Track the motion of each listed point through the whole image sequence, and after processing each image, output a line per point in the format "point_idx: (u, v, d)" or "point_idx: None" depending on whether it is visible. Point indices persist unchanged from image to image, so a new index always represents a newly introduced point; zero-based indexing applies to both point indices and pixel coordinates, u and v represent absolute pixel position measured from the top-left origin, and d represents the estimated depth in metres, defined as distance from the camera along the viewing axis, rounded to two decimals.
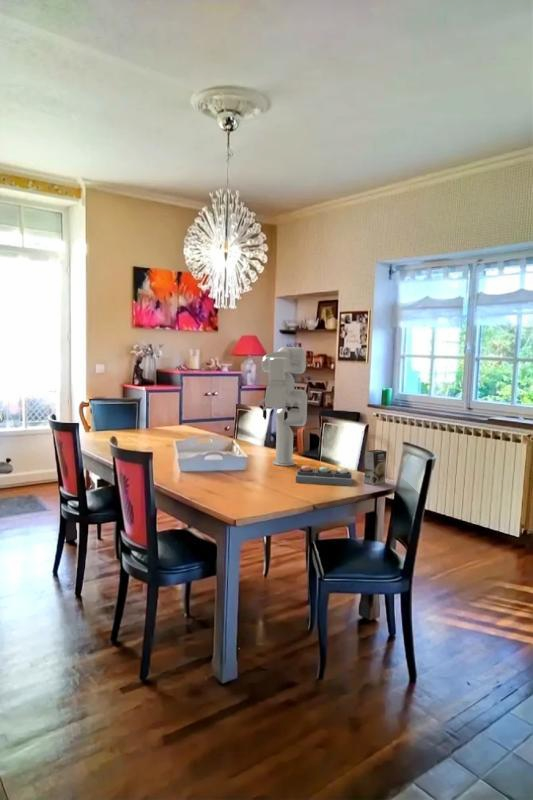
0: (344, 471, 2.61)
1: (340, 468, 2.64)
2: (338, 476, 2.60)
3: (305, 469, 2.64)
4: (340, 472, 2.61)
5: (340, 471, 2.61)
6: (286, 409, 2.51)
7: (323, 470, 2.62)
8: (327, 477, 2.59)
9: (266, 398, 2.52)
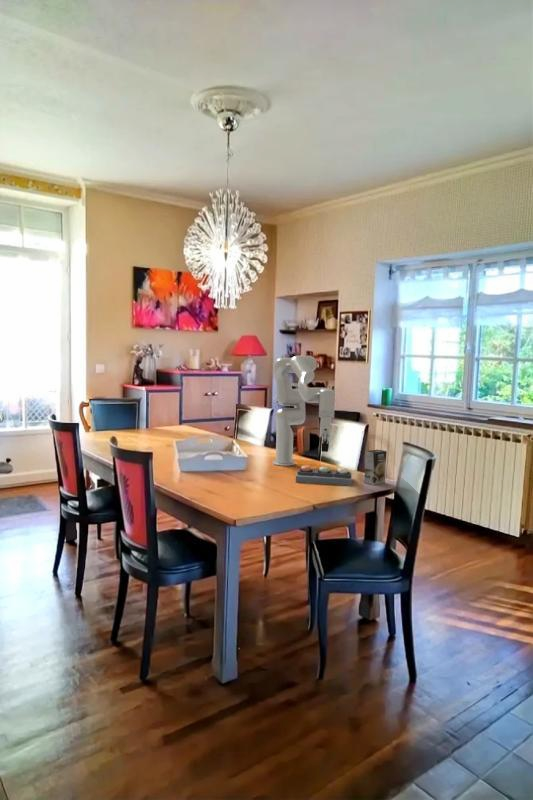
0: (344, 471, 2.61)
1: (340, 468, 2.64)
2: (338, 476, 2.60)
3: (305, 469, 2.64)
4: (340, 472, 2.61)
5: (340, 471, 2.61)
6: (328, 438, 2.67)
7: (323, 470, 2.62)
8: (327, 477, 2.59)
9: (329, 429, 2.58)
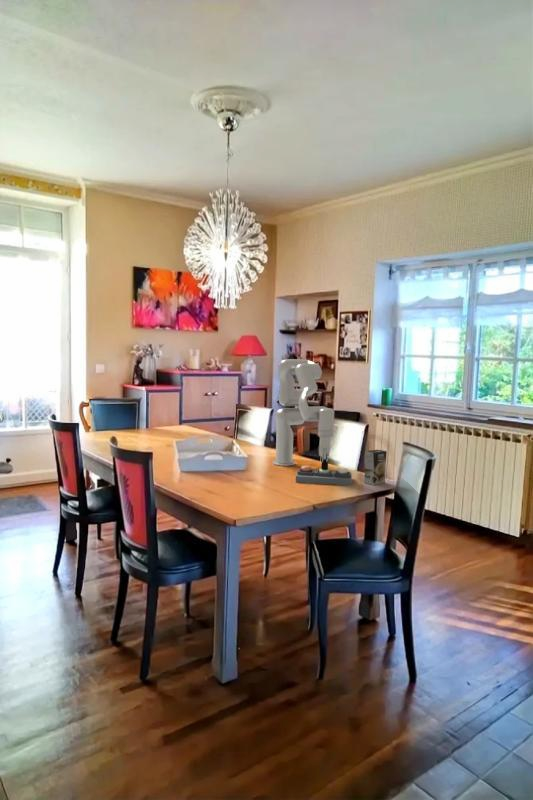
0: (344, 471, 2.61)
1: (340, 468, 2.64)
2: (338, 476, 2.60)
3: (305, 469, 2.64)
4: (340, 472, 2.61)
5: (340, 471, 2.61)
6: None
7: (323, 472, 2.63)
8: (327, 477, 2.59)
9: (329, 448, 2.59)
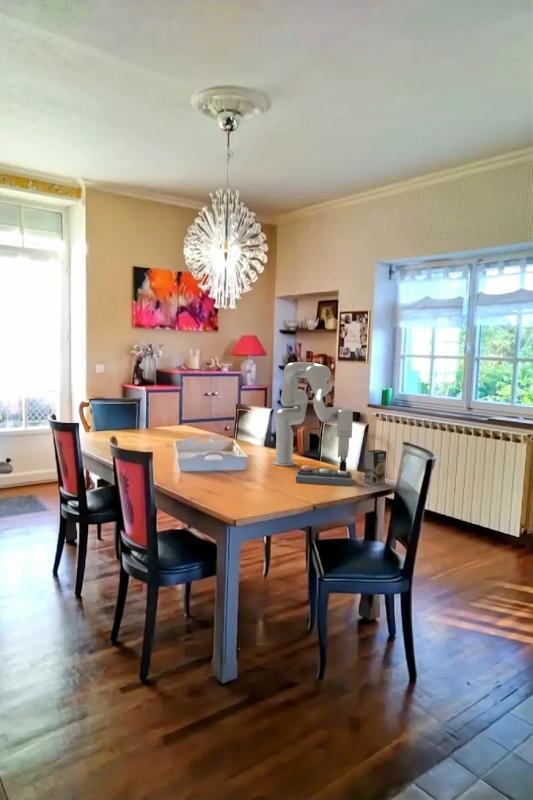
0: (344, 473, 2.61)
1: None
2: (338, 476, 2.60)
3: (305, 469, 2.64)
4: None
5: (340, 473, 2.62)
6: None
7: (323, 472, 2.63)
8: (327, 477, 2.59)
9: (348, 449, 2.58)
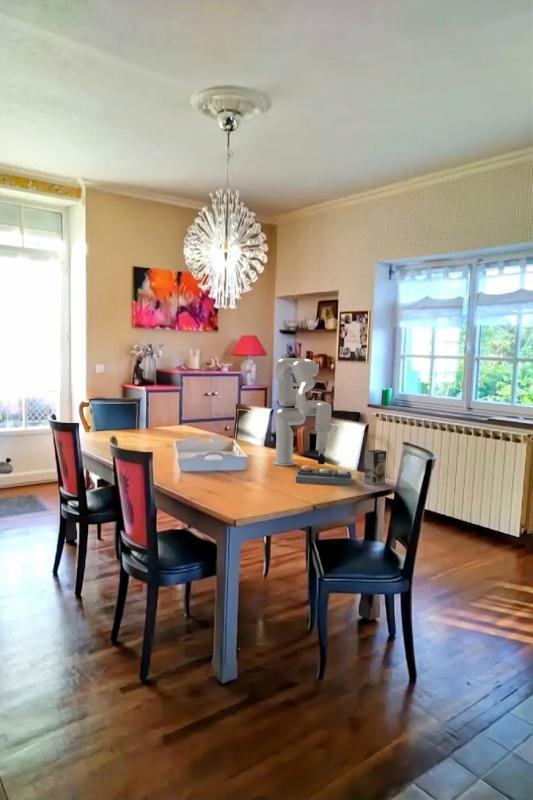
0: (344, 473, 2.61)
1: (340, 470, 2.64)
2: (338, 476, 2.60)
3: (305, 469, 2.64)
4: None
5: (340, 473, 2.62)
6: None
7: (323, 472, 2.63)
8: (327, 477, 2.59)
9: (326, 443, 2.59)
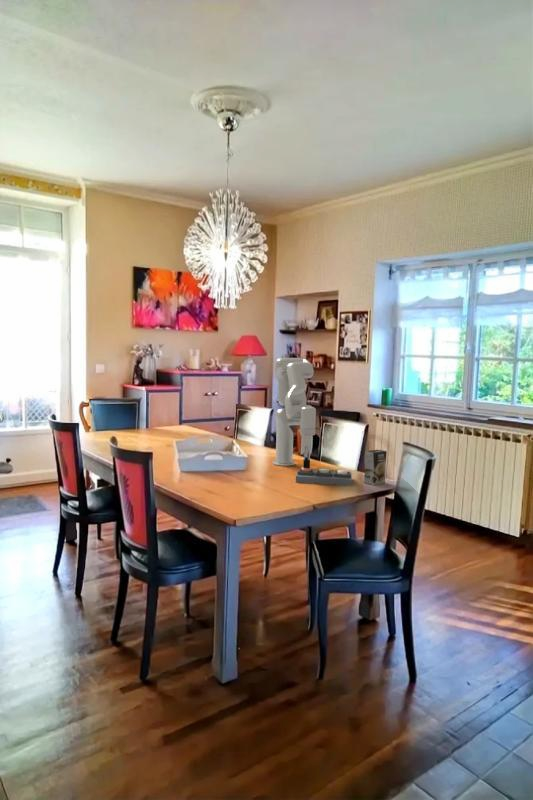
0: (344, 473, 2.61)
1: (340, 470, 2.64)
2: (338, 476, 2.60)
3: (305, 470, 2.64)
4: None
5: (340, 473, 2.62)
6: (309, 457, 2.66)
7: (323, 472, 2.63)
8: (327, 477, 2.59)
9: (310, 447, 2.60)
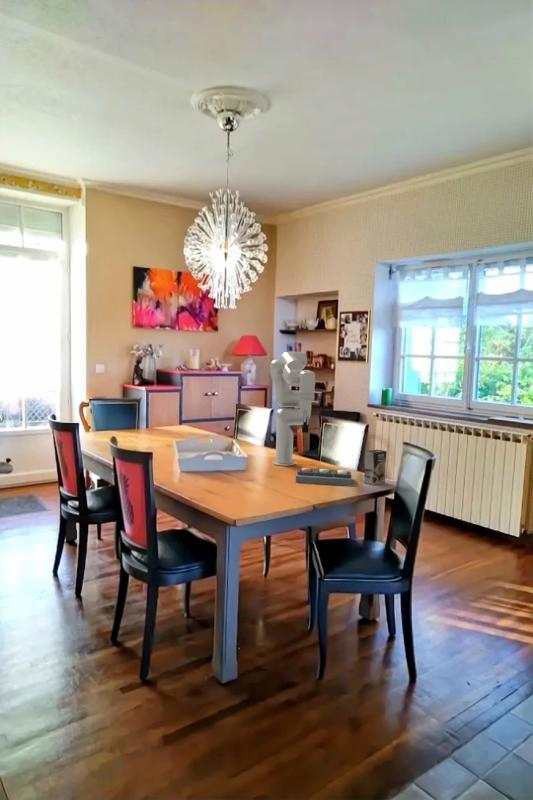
0: (344, 473, 2.61)
1: (340, 470, 2.64)
2: (338, 476, 2.60)
3: (305, 471, 2.64)
4: None
5: (340, 473, 2.62)
6: None
7: (323, 472, 2.63)
8: (327, 477, 2.59)
9: (309, 411, 2.61)
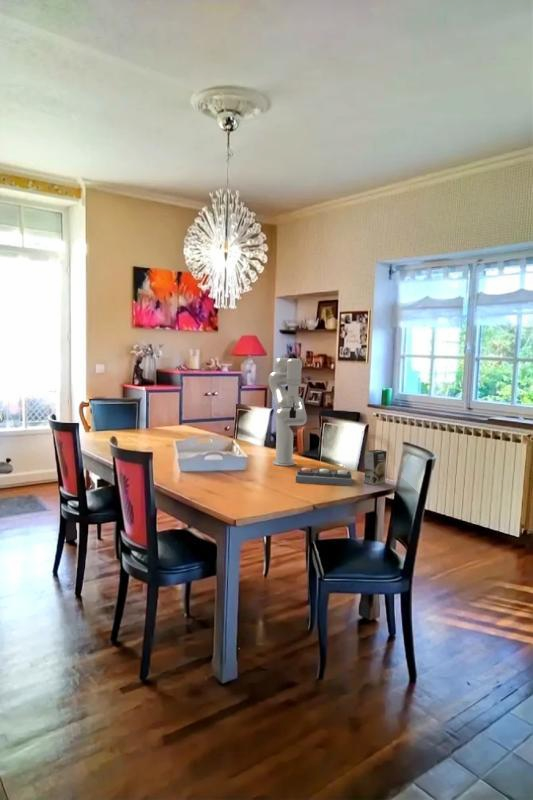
0: (344, 473, 2.61)
1: (340, 470, 2.64)
2: (338, 476, 2.60)
3: (305, 471, 2.64)
4: None
5: (340, 473, 2.62)
6: (295, 407, 2.78)
7: (323, 472, 2.63)
8: (327, 477, 2.59)
9: (296, 397, 2.72)
